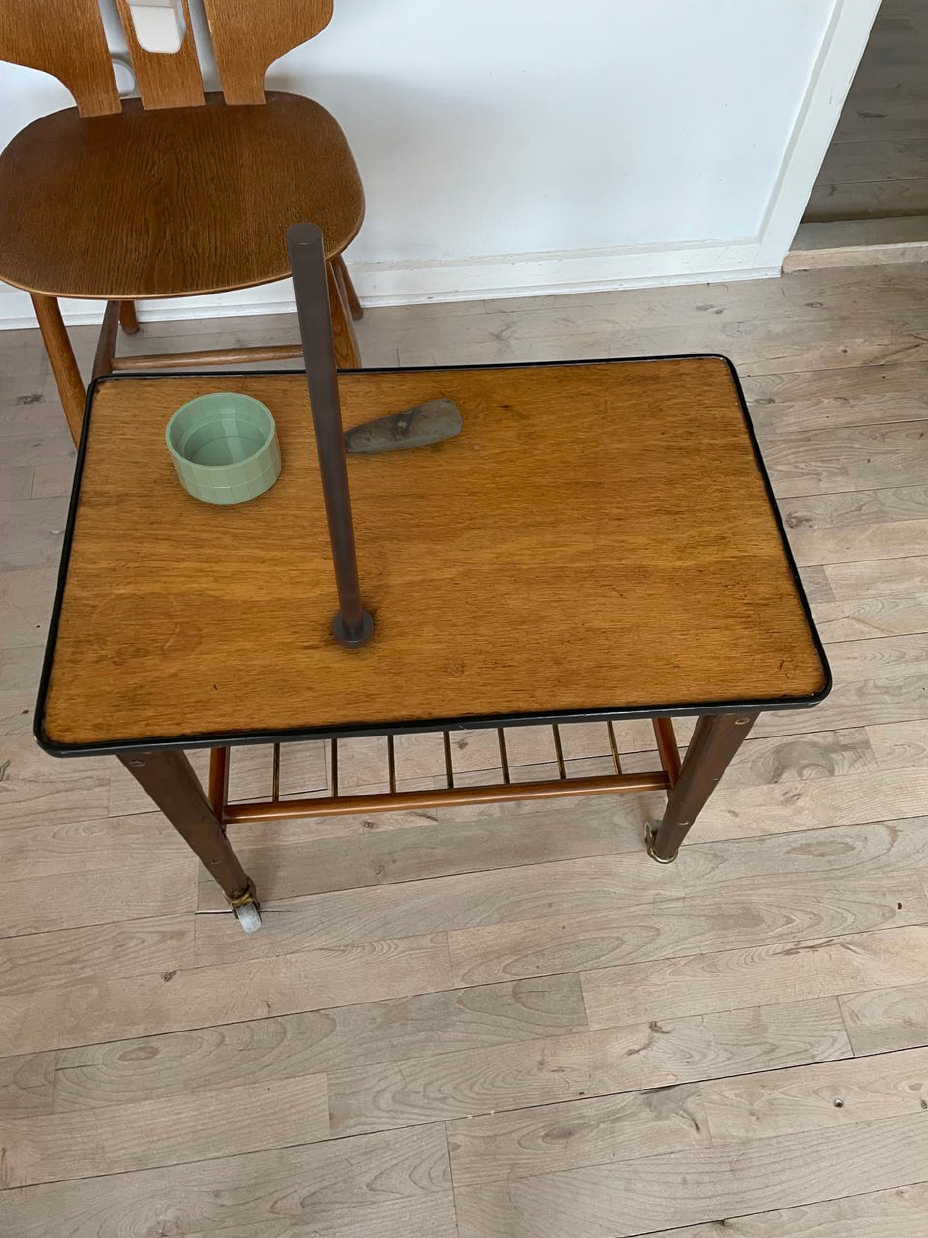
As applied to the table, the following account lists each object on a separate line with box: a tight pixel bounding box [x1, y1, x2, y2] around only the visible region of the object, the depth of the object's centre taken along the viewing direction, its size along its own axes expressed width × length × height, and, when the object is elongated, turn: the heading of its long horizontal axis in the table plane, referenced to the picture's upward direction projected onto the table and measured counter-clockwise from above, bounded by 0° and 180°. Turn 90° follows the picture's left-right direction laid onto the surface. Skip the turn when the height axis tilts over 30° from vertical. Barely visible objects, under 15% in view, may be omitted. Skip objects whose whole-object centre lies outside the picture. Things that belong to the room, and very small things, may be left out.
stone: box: [343, 397, 464, 455], centre depth 86 cm, size 13×5×2 cm, turn 113°
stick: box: [285, 222, 375, 650], centre depth 59 cm, size 4×4×38 cm
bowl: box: [164, 391, 283, 506], centre depth 82 cm, size 10×10×6 cm
